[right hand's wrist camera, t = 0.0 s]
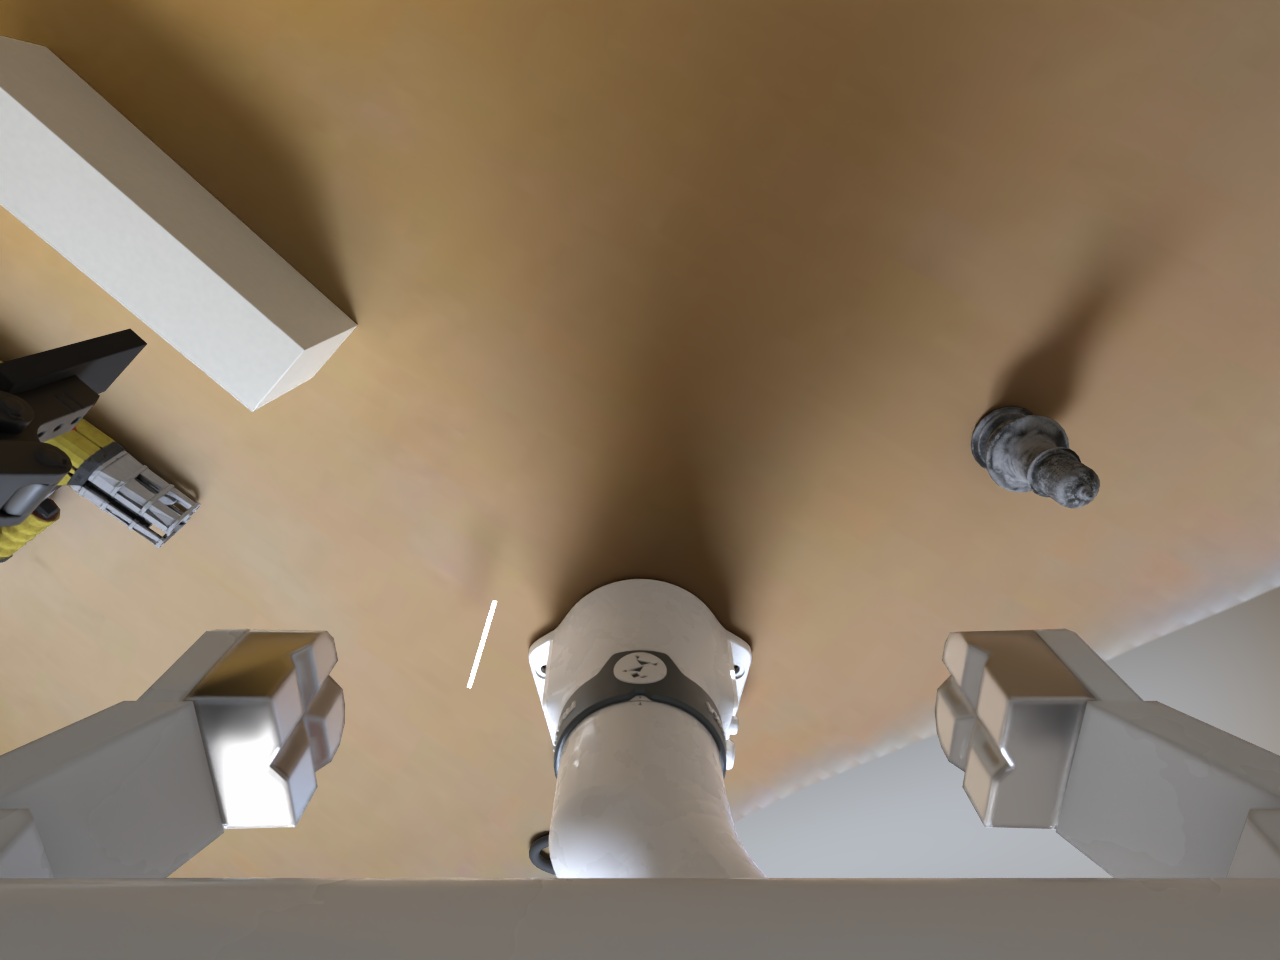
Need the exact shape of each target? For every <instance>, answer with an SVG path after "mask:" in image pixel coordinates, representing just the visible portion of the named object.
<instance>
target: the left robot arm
mask: <svg viewBox="0 0 1280 960" xmlns="http://www.w3.org/2000/svg"><path fill="white" fill-rule="evenodd" d="M146 345H147V343H146V342H145V341H144V340H142V339H141V338H140V337H139V336H138V335H137V334H136V333H135V332H133V331H132V330H131V329H127V330H123V331H120V332H116V333H112V334H108V335H105V336H101V337H97V338H93V339H89V340H86V341H82V342H78V343H74V344H71V345H67V346H63V347H59V348H56V349H52V350H48V351H44V352H41V353H37V354H33V355H29V356H26V357H22V358H18V359H14V360H10V361H7V362H3V363H0V527H6V526H15V525H20V524H21V523H22V522H23V521H25V520H26V519H27V517H28V516H29V515H30V514H31V513H32V512H33V511H34V510H35V509H36V508H37V506H38V505H39V504H40V503H41V502H42V501H43V500H44V499H45V498H46V497H47V495H48V494H49V493H50V492H51V491H52V490H53V489H54V488H55V487H56V486H57V484H58V483H59V482H60V481H61V480H62V479H63V478H64V477H65V476H66V475H67V473H68V472H69V471H70V470H71V467H72V462H71V459H70V458H69V457H68V455H67V454H66V453H65V452H64V451H62V450H61V449H59V448H58V447H56V446H54V445H51V444H49V443H43V442H46V441H48V440H49V439H53V438H55V437H58V436H60V435H62V434H65V433H67V432H70V431H71V430H72V429H73V428H74V427H75V426H76V425H77V423H78V422H79V421H80V420H81V419H82V418H83V417H84V416H85V414H86V413H87V412H88V411H89V410H90V409H91V408H92V407H93V406H94V404H95V403H96V401H97V400H98V398H99V395H98V394H99V393H101V392H104V391H105V390H106V389H107V388H108V387H109V386H110V385H111V384H112V383H113V382H114V380H115V379H116V378H117V377H118V376H119V375H120V374H121V373H122V371H123V370H124V369H125V368H126V367H127V366H128V365H129V364H130V362H131V361H132V360H133V359H134V358H135V357H136V356H137V355H138V353H139V352H140V351H141V350H142V349H143V348H144V347H145V346H146Z"/></svg>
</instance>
